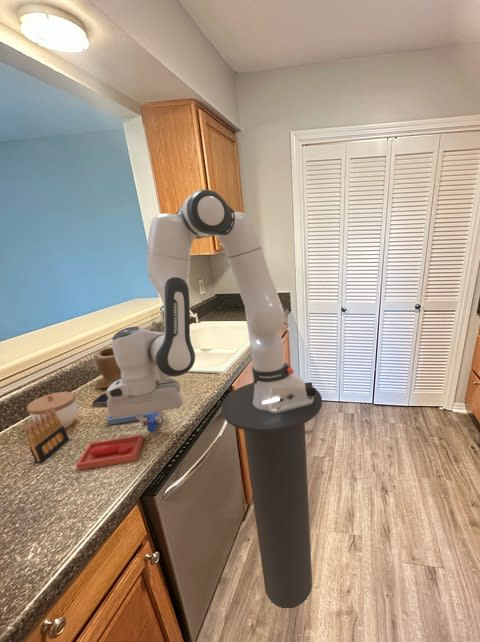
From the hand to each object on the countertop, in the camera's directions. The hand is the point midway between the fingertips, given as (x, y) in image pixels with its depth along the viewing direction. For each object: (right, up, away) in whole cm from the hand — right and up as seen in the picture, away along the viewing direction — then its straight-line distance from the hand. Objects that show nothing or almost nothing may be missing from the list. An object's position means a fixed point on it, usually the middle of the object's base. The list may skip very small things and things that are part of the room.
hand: (152, 423), depth 99 cm
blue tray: (-11, +1, +12) cm, 16 cm away
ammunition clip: (-26, -7, -5) cm, 28 cm away
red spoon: (-7, -7, -8) cm, 13 cm away
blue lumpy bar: (0, -1, +3) cm, 3 cm away
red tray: (-7, -7, -8) cm, 13 cm away
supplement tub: (-10, +9, +29) cm, 32 cm away
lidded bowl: (-33, -2, +7) cm, 34 cm away
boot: (-32, +11, +37) cm, 50 cm away
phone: (-23, +5, +22) cm, 32 cm away
